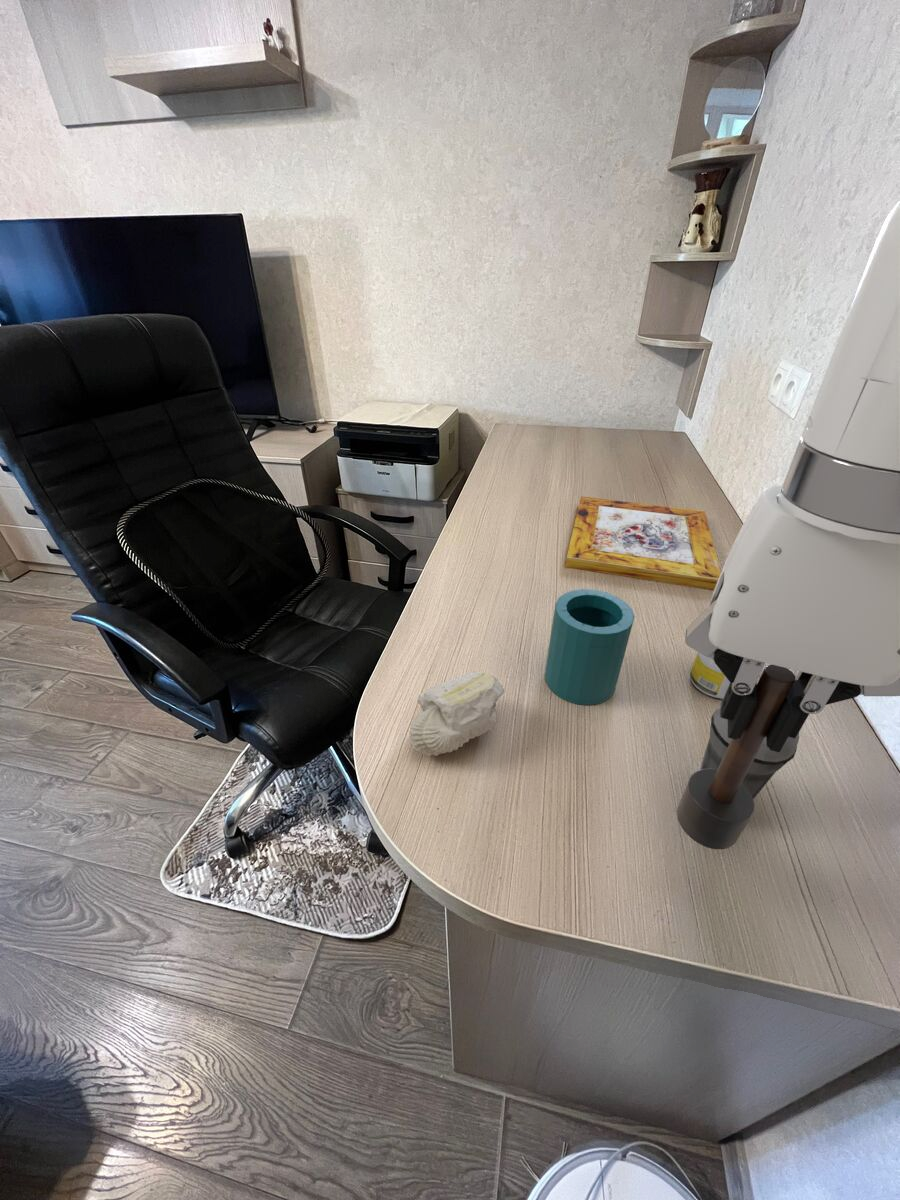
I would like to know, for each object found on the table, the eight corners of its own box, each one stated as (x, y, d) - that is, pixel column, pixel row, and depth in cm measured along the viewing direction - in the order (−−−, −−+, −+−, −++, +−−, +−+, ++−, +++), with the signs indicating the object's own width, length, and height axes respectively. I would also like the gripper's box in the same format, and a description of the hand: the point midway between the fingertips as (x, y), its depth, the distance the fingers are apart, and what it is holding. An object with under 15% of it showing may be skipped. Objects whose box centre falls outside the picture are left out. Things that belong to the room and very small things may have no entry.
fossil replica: (392, 749, 60) (465, 789, 56) (389, 707, 54) (470, 748, 51) (442, 682, 68) (509, 714, 65) (444, 639, 63) (517, 671, 59)
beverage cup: (715, 767, 58) (781, 631, 46) (769, 822, 52) (859, 683, 41) (665, 787, 56) (721, 649, 44) (715, 846, 50) (794, 706, 39)
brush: (738, 809, 43) (818, 660, 34) (738, 859, 40) (828, 709, 30) (678, 789, 45) (738, 642, 35) (674, 835, 41) (739, 686, 32)
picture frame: (705, 511, 111) (723, 580, 87) (702, 520, 112) (719, 590, 88) (580, 496, 117) (566, 557, 94) (579, 504, 118) (565, 567, 95)
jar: (620, 668, 72) (639, 599, 65) (608, 714, 64) (627, 642, 58) (555, 650, 75) (565, 582, 68) (536, 691, 68) (546, 621, 61)
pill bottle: (742, 679, 70) (773, 612, 63) (736, 708, 65) (768, 639, 59) (693, 662, 73) (717, 596, 66) (684, 689, 68) (709, 621, 62)
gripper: (1043, 483, 25) (873, 729, 36) (705, 445, 31) (643, 667, 41) (1132, 548, 20) (900, 817, 30) (699, 488, 25) (629, 732, 36)
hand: (752, 729), depth 36 cm, fingers closed on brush
